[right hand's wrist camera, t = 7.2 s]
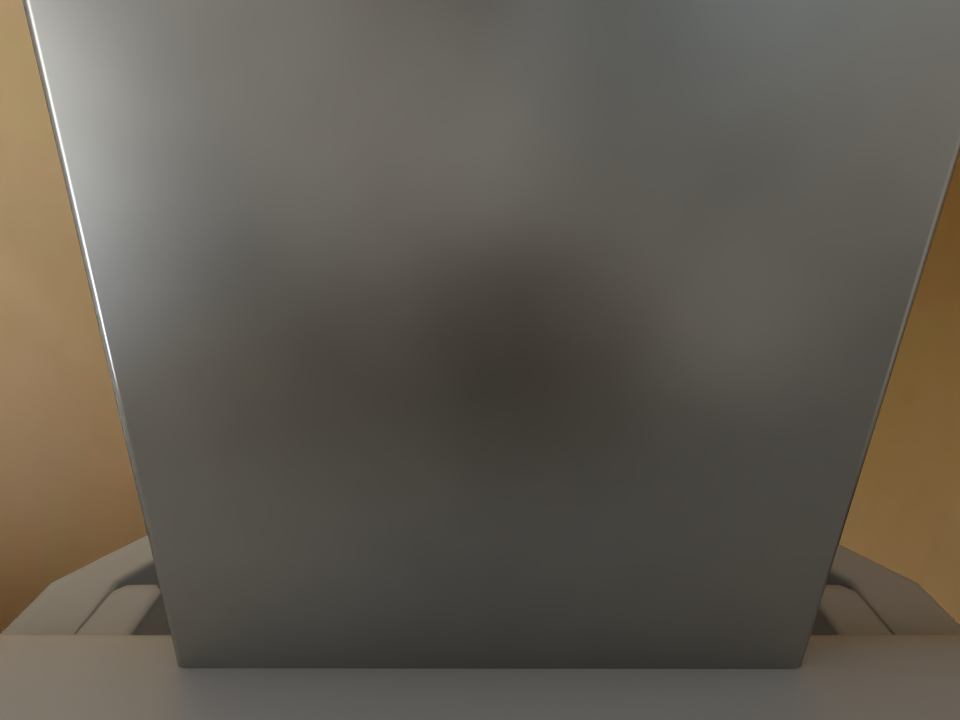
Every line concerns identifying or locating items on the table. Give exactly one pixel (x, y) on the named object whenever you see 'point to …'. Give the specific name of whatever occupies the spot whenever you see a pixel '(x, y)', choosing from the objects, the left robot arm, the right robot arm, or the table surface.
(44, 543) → the table surface
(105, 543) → the table surface
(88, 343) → the table surface
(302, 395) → the bar
